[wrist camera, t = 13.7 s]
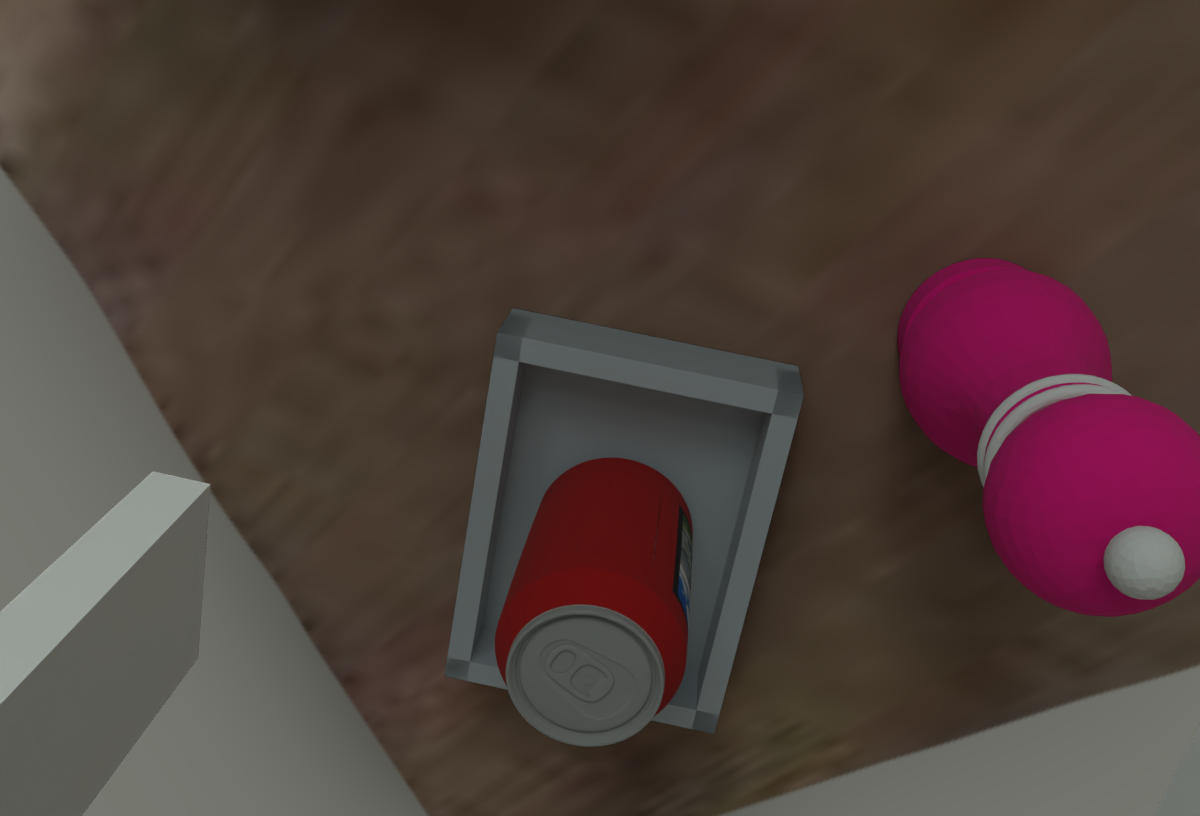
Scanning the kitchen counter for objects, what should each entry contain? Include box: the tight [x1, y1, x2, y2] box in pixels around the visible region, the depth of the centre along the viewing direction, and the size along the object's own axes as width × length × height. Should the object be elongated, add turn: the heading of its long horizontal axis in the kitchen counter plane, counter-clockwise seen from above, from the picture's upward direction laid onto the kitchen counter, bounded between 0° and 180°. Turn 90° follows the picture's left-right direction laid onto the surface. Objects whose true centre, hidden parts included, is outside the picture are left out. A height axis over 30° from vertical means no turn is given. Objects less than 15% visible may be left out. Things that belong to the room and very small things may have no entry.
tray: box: [445, 308, 804, 734], centre depth 48 cm, size 16×12×4 cm
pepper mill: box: [897, 258, 1200, 617], centre depth 36 cm, size 7×7×20 cm
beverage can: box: [495, 457, 693, 747], centre depth 43 cm, size 7×7×12 cm
